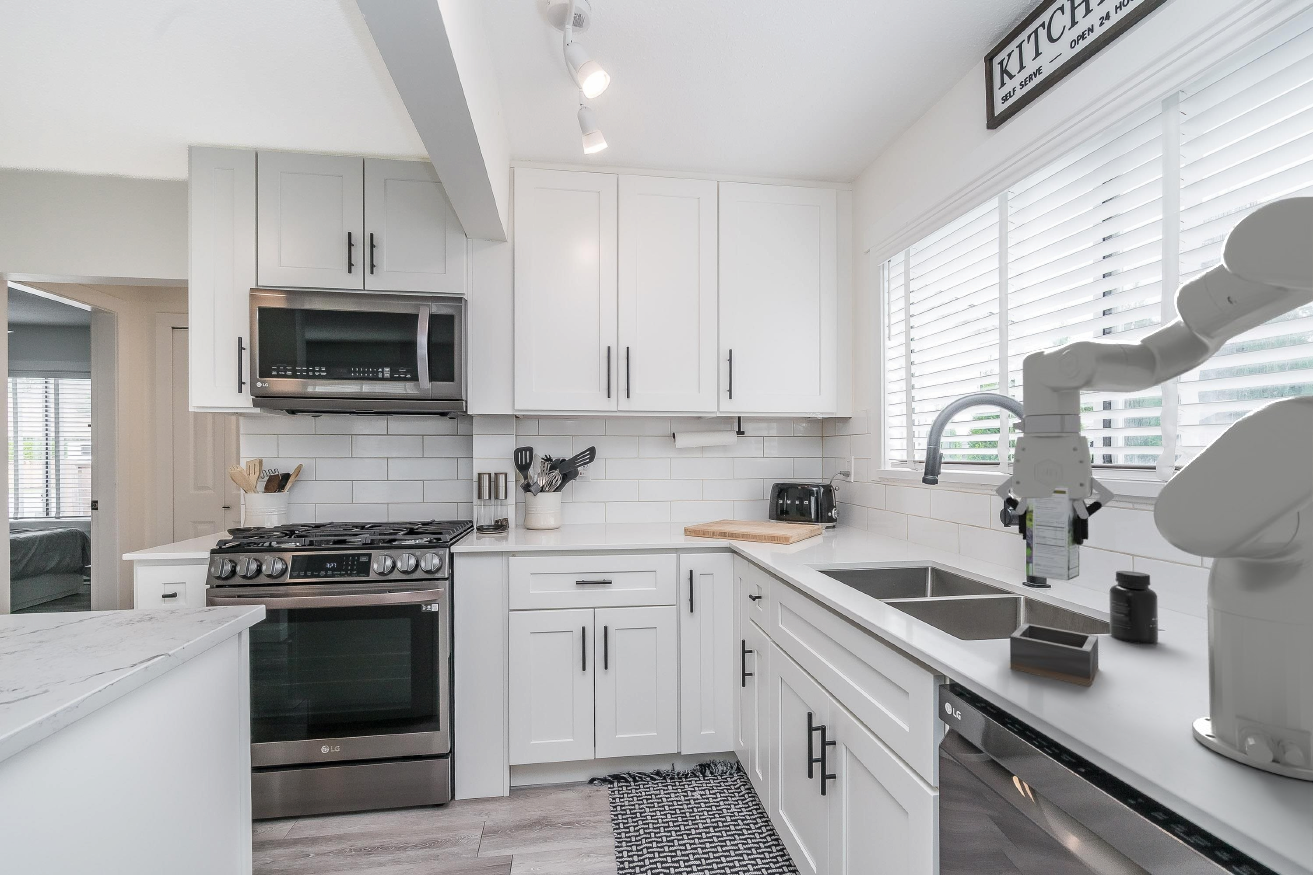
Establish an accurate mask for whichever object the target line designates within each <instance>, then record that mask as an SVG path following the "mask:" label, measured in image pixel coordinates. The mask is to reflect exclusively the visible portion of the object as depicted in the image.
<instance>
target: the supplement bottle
mask: <svg viewBox="0 0 1313 875" xmlns="http://www.w3.org/2000/svg"><path fill="white" fill-rule="evenodd" d="M1115 582H1116V583H1117V584H1113V585H1112V586H1111V587H1110V588H1109V593H1108V594H1109V633H1110V635H1111V636H1112V637H1113V636H1114V638H1115V639H1118V640H1120V641H1125V642H1129V643H1135V644H1143V645H1152V644H1153V645H1154V644H1156V643H1158V641H1159V615H1158V614H1159V610H1158V609H1159V608H1158V607H1159V606H1158V605H1159V604H1158V600H1159V599H1158V595H1157V593H1156V592H1155V591H1154V590H1153V589H1151V588H1149V587H1150V586H1151V575H1150V574H1148V573H1145V572H1139V571H1131V570H1117V571H1115Z"/></svg>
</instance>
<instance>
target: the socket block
mask: <svg viewBox="0 0 1313 875" xmlns="http://www.w3.org/2000/svg"><path fill="white" fill-rule="evenodd" d="M1009 646H1010V647H1009V648H1010V650H1009V651H1010V652H1009V653H1010V654H1009V656H1010V657H1009V658H1010V661H1009V662H1010V665H1009V666H1010V668H1009V669H1012V670H1016V671H1019V672H1024V673H1030V674H1034V675H1038V676H1043V677H1047V678H1052V679H1055V680H1059V681H1064V682H1069V683H1073V684H1076V685H1077V684H1078V685H1082V686H1086V687H1091V686H1092V684H1093V681H1094V679H1095V676H1096V675H1097V672H1098V670H1099V636H1098V635H1094V634H1090V633H1089V634H1088V633H1083V632H1077V631H1072V630H1066V629H1061V628H1055V627H1050V626H1045V625H1044V626H1043V625H1038V624H1033V623H1027V622H1023V623H1022V624H1021V625H1020V626H1019V627H1018V628H1016V630H1015V631H1014V632H1012V634H1011V635H1010V636H1009Z"/></svg>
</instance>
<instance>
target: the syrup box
mask: <svg viewBox="0 0 1313 875" xmlns="http://www.w3.org/2000/svg"><path fill="white" fill-rule="evenodd" d="M1058 487H1061V488H1055V490H1054V492H1053V494H1052V497H1051V498H1027V518H1026V540H1025V541H1026V543H1025V546H1026V547H1025V548H1026V549H1025V551H1026V552H1025V553H1026V556H1025V566H1026V567H1025V574H1026V575H1027V576H1031V577H1038V578H1045V579H1053V580H1059V581H1068V582H1069V581H1070V580H1073V579H1074V578H1077V577H1079V576H1080V545H1077V544H1075V519H1076V518H1077V514H1078V513H1077V511H1076V509H1075V507H1074V505H1073V503H1072V500H1069V494H1068V487H1062V486H1058Z"/></svg>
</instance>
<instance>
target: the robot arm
mask: <svg viewBox="0 0 1313 875" xmlns="http://www.w3.org/2000/svg"><path fill="white" fill-rule="evenodd" d="M1220 256H1221V262H1219V263H1217V264H1216V265H1214V266H1212V267H1211V268H1209V269H1207V270H1205V271H1203V272H1201V273H1200V274H1198V275H1196V276H1194V277H1192V278H1190V279H1189V280H1187V281H1186V282H1184V283H1183V284H1181V285H1180V286H1179V287H1178V289H1177V290H1176V292H1175V294H1174V306H1175V309H1176V313H1177V315H1178V316H1177V317H1176V318H1175V319H1173V320H1172V321H1171V322H1169V323H1168V324H1166V325H1165V326H1163V327H1160V328H1159V329H1157V330H1155V331H1153V332H1151V333H1150V334H1147V335H1145V336H1143V337H1141V338H1139V339H1137V340H1134V341H1128V340H1127V341H1126V340H1112V339H1097V338H1083V339H1077V340H1074V341H1071V342H1068V343H1065V344H1063V345H1060V346H1058V347H1055V348H1048V349H1041V350H1040V349H1039V350H1035V351H1031V352H1029V353H1027V354H1026V355H1025V356H1024V357H1023V360H1022V410H1023V411H1022V414H1023V415H1022V417H1021V419H1020V420H1018V421H1013V422H1012V430H1014V431H1016V430H1018V431H1020V432H1022V435H1023V436H1017V438H1016V440H1015V441H1016V442H1015V448H1014V453H1013V463H1012V475H1011V476H1010V477H1009V478H1008V479H1007V480H1005V481H1004V482H1002V484H1000V485H999V486H998V487H997V488H996V489H995V493H996V495H998V496H999V497H1000V498H1001V499H1002V500H1003V501H1005V503H1006V504H1007V505H1008V506H1009V507H1011V509H1012V510H1013V511H1015V514H1017V517H1018V534H1019V535H1022V540H1023V541H1026V518H1027V498H1051V497H1052V494H1053V492H1054V490H1055V488H1061V487H1058V486H1062V487H1068V494H1069V500H1072V503H1073V505H1074V507H1075V509H1076V511H1077V513H1078V514H1077V518H1076V519H1075V544H1077V545H1079V546H1082V545H1083V544H1084V542H1085V541H1086V540H1089V518H1090V517H1091V516H1092V515H1094V514H1095V513H1096V512H1098V511H1099V510H1100V509H1102V508H1103V507H1105V506H1106V505H1108V504H1109V503H1110V502H1111V501H1112V500H1114V499H1115V497H1116V494H1115V493H1114V492H1113V491H1111V490H1110V489H1109V488H1108V487H1106V486H1105V485H1104V484H1103V483H1101V481H1099V480H1098V479H1096V477H1094V476H1093V471H1092V470H1093V468H1092V459H1091V452H1090V448H1089V443H1088V439H1087V436H1086V435H1082V432H1081V431H1082V430H1081V429H1082V427H1081V425H1082V423H1081V419H1082V418H1081V392H1099V393H1100V392H1105V393H1106V392H1107V393H1108V392H1109V393H1125V394H1127V393H1135V392H1140V391H1143V390H1145V391H1146V390H1147V389H1150V388H1151V389H1152V388H1154V387H1156V386H1158V385H1160V384H1162V383H1166V382H1168V381H1170V380H1173V379H1175V378H1178V377H1180V376H1182V375H1184V374H1186V373H1189V372H1191V371H1193V370H1194V369H1196V368H1198V367H1200V366H1201V365H1203V364H1204V363H1205V362H1207V361H1208V360H1210V359H1211V357H1213V356H1214V355H1215V354H1217V353H1218V352H1219V351H1220V350H1221V349H1222V348H1223V347H1224V346H1225V344H1226V343H1227V342H1228V341H1229V340H1232V339H1233V338H1235V337H1237V336H1240V335H1241V334H1244V333H1245V332H1248V331H1249V330H1252V329H1255V328H1257V327H1259V326H1260V325H1262V324H1264V323H1265V324H1266V323H1267V322H1269V321H1271V320H1273V319H1276V318H1279V317H1280V316H1282V315H1285V314H1286V313H1289V312H1291V311H1293V310H1296V309H1299V308H1300V307H1301V308H1302V307H1303V306H1305V305H1308V304H1310V303H1313V196H1294V197H1290V198H1284V199H1279V200H1277V201H1273V202H1269V203H1268V204H1266V205H1265V204H1264V206H1261V207H1258V208H1257V209H1255V210H1253V211H1252V212H1250V213H1249V214H1247V215H1246V216H1244V217H1243V218H1242V219H1241V220H1239V221H1238V222H1237V223H1236V224H1235V225H1234V226H1233V227H1232V228H1231V230H1230V232H1228V234H1227V236H1226V237H1225V239H1224V241H1223V244H1222V247H1221V255H1220ZM1011 489H1012V493H1013V494H1014V495H1015V496H1016V497H1018V498H1021V499H1020V501H1019V500H1018V499H1017V498H1016V497H1014V496H1013V495H1012V493H1010V491H1011ZM1093 490H1094V491H1095V492H1097V493H1098V495H1099V497H1098V498H1097V499H1096V500H1094V501H1093V502H1092V503H1091V504H1089V505H1087V503H1086V502H1085V500H1086V499H1088V498H1090V497H1091V496H1092V495H1093ZM1153 519H1154V524H1155V526H1156V528H1157V530H1158V532H1159V533H1160V535H1161V536H1162V538H1164V540H1165V541H1166V542H1168V543H1169V544H1170V545H1172V546H1173V547H1174V548H1177V549H1178V550H1180V551H1182V552H1184V553H1187V554H1190V555H1194V556H1197V557H1203V558H1208V559H1209V558H1211V559H1213V560H1212V563H1211V567H1210V569H1209V570H1210V571H1209V574H1208V580H1207V604H1206V605H1207V606H1206V607H1207V608H1206V609H1207V612H1206V613H1207V645H1208V646H1207V648H1208V649H1207V650H1208V652H1207V654H1208V694H1209V696H1208V697H1209V698H1208V700H1209V702H1208V704H1209V716H1206V717H1200V718H1197V719H1194V720H1193V722H1192V724H1191V726H1192V727H1191V732H1192V735H1193V736H1194V738H1195V739H1196V740H1197V741H1198V742H1199V743H1201V744H1203V745H1204V746H1205V747H1207V748H1209V749H1211V750H1213V752H1216V753H1219V754H1220V755H1221V756H1224V757H1227V758H1229V759H1231V760H1233V761H1237V762H1239V763H1241V764H1245V765H1247V766H1250V767H1252V768H1255V769H1260V770H1262V771H1266V772H1269V773H1271V774H1272V773H1274V774H1277V775H1281V776H1284V777H1288V778H1289V777H1290V778H1294V779H1300V780H1304V781H1312V782H1313V395H1297V396H1290V397H1286V398H1280V399H1277V400H1274V401H1271V402H1268V403H1266V404H1264V405H1262V406H1259V407H1257V408H1254V409H1253V410H1251V411H1250V412H1248V413H1246V414H1245V415H1244V416H1242V417H1240V418H1239V419H1238V420H1236V421H1235V422H1234V423H1233V424H1232V425H1231V426H1229V427H1228V428H1226V429H1225V430H1224V431H1223V432H1222V433H1221V434H1220V435H1219V436H1217V437H1216V438H1215V439H1214V440H1213V441H1212V442H1210V443H1209V444H1208V445H1207V446H1206V447H1205V448H1204V449H1203V450H1202V451H1201V452H1199V453H1198V454H1197V455H1196V456H1194V457H1193V459H1191V460H1190V461H1189V462H1188V463H1186V465H1185V466H1183V467H1182V468H1181V469H1180V470H1179V471H1177V473H1175V474H1174V475H1173V476H1172V477H1171V478H1170V479H1169V480H1168V481H1167V482H1166V483H1165V484H1164V485H1163V487H1162V488H1161V489H1160V491H1159V493H1158V494H1157V496H1156V499H1155V502H1154V506H1153Z"/></svg>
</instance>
